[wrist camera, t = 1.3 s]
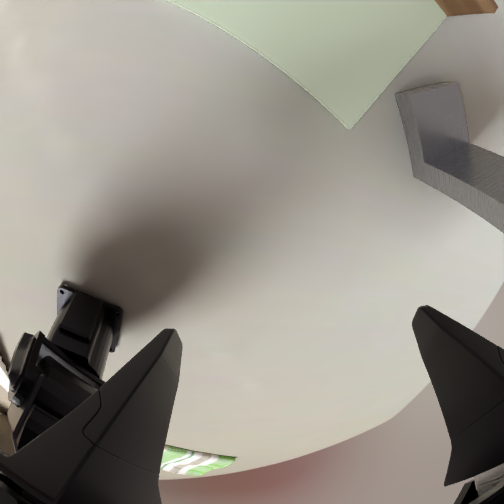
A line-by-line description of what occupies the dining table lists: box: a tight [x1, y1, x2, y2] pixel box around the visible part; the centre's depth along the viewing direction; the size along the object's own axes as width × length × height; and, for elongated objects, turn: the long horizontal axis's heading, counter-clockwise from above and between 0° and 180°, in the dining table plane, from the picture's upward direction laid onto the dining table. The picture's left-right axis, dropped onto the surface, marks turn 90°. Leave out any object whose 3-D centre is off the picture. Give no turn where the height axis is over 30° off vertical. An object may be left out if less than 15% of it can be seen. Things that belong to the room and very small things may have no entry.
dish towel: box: [160, 445, 235, 476], centre depth 44 cm, size 17×23×4 cm
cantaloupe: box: [0, 414, 15, 456], centre depth 30 cm, size 14×14×15 cm
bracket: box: [395, 82, 504, 233], centre depth 11 cm, size 6×7×12 cm
